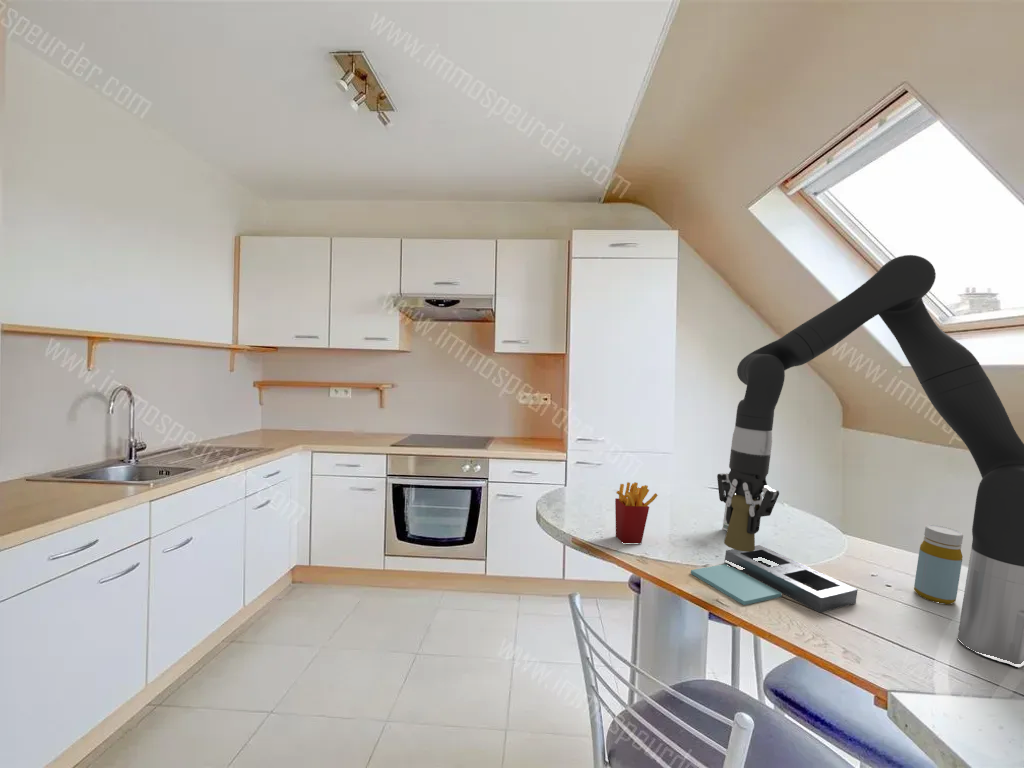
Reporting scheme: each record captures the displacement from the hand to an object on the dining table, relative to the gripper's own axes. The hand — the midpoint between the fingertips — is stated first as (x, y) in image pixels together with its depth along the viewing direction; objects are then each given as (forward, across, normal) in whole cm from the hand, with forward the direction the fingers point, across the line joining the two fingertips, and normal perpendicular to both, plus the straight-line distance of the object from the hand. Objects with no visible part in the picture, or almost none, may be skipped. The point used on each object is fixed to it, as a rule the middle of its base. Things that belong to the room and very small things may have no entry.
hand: (741, 528), depth 107 cm
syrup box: (+13, +23, -28) cm, 38 cm away
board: (+12, 0, 0) cm, 12 cm away
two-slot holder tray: (+12, -3, -13) cm, 18 cm away
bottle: (+13, -18, -40) cm, 46 cm away
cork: (+4, 0, 0) cm, 4 cm away
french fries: (+13, +27, +6) cm, 30 cm away
